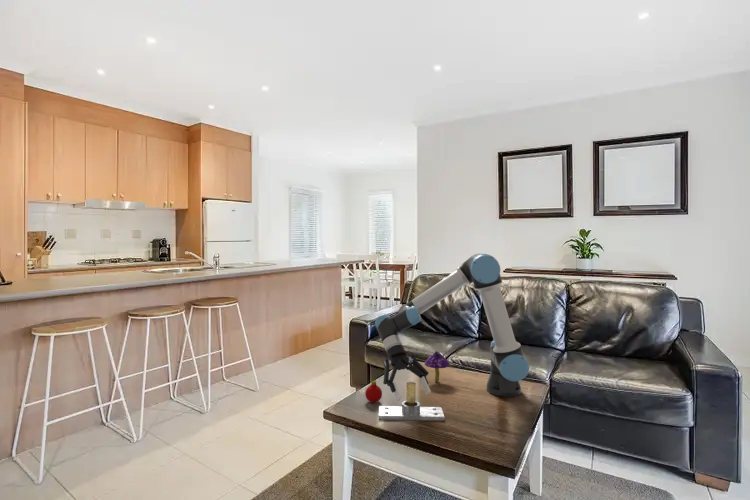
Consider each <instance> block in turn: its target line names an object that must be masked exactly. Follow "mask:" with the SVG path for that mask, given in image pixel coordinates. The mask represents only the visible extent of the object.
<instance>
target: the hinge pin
mask: <svg viewBox="0 0 750 500" xmlns="http://www.w3.org/2000/svg"><path fill="white" fill-rule="evenodd" d="M416 386H417V385H416V382H415V381H407V382H406V389H405V390H406V391H405V392H406V397H405V398H406V400H405V401H406V406H416V401H417V400H416V392H417V390H416V389H417V387H416Z"/></svg>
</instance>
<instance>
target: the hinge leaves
mask: <svg viewBox="0 0 750 500" xmlns="http://www.w3.org/2000/svg"><path fill="white" fill-rule="evenodd" d="M380 419H382V420H387V421H389V420H390V421H392V420H393V421H396V420H397V421H443V422H444V421H445V415H444V411H443V408H442V407H441V406H421V403H420V402H419V401H418V400H416V406H406V400H404V401H402V402H401V406H398V405H396V406H395V405H392V406H391V405H379V406H378V420H380Z"/></svg>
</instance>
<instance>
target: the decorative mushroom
mask: <svg viewBox="0 0 750 500" xmlns="http://www.w3.org/2000/svg"><path fill="white" fill-rule="evenodd" d="M423 363H424V365H425V366H426V367H428V368H430V369H432V368H433V369H434V371H435V375H434V376H435V377H434V382H436V383H437V382H440V370H439V369H446V368H448V367H450V366H451V363H450V362H449V361H448V359H447V358H446V357H445V356H444V355H443V354H441V352H440V351H438V350H436V351H434V352H433V353H432V354H431V355H429V357H428V358H427V359H426V360H424V361H423Z"/></svg>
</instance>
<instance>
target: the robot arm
mask: <svg viewBox="0 0 750 500" xmlns="http://www.w3.org/2000/svg"><path fill="white" fill-rule="evenodd" d="M471 284H473V287H474V289H475V290H476V291H478V292H479V295H480V298H481V301H482V304H483V309H484V313H485V315H486V317H487V322H488V325H489V330H490V332H491V336H492V338H493V339H492V341H491V342H490V348H489V349H490V374H489V376H488V379H487V382H486V386H485V387H486V391H487V392H488V393H490V394H492V395H495V396H498V397H504V398H510V397H511V398H512V397H513V398H515V397H517V396H520V395H521V394H522V387H521V383H520V381H522V380H523V379H525V378H526V377H527V376H528V374H529V372H530V364H529V362H528V360H527V358H526V357H525V355H524V351H523V349H522V345H521V343H520V342H518V341H517V340H516V337H515V334H514V331H513V327H512V324H511V320H510V316H509V314H508V311H507V307H506V303H505V300H504V296H503V293H502V290H501V286H502V284H503V279H502V276H501V266H500V263H499V261H498V260H497V259H496V258H495V257H494V256H492V255H490V254H487V253H476V254H473V255H470V257H469V258H467V260H465V261H464V262H463V263H461V264H460V265H459V266H457V267H456V270H454V271H453V272H452V273H450V274H448V275H447V276H446V277H445V278H443V279H442V280H440V281H438V282H437V283H436V284H434V285H433V286H431V287H430V288H428V289H426V290H425V291H424V292H422V293H420V294H419V295H418V296H416V297H414V298H413V299H411V300H410V301H409V302H407V303H405V304H402V305H401V306H400V307H399V310H398V312H397V313H396V314H394V315H393V316H390V314H387V313H385V314H381V315H379V316H377V318H375V321H374V324H375V327H376V331H377V333H378V335H379V338H380V339H381V342H382V344H383V345H382V346H383V347H384V350H385V352H386V355H387V357H388V359H385V360H384V362H383V367H384V369H383V370H384V372H383V373H384V374H383V383H382V384H383V385H386V386H387V387H389V390H390V391H391V392H392V393H393V395H394V397H395V400H396V402H399V401H400V400H401V399H402V395H401V392H400V391H399V387H398V385H397V383H396V381H395V377H396V374H397V371H402V370H407V371H410V372H411V373H413V374H414V375H416V376H417V377H418V378H419V381H420V383H421V385H422V388H423V391H424V393H425V395H426V396H428V395H429V394H431V389H430V386H429V381H428V379H427V376H428V375H429V371H428V370H427V369H426V368H424V366H423V365H422V364H421V363H420V362H419V361H418V360H417V359H416V357H415V356H414V355H413V354H412V355H411V356H409V357H408V356H407V352H406V350H405V347H404V346H403V342H402V340H401V338H400V336H399V333H402V332H403V331H405V330H406V329H409V328H410V327H413V326H416V325H417V324H418V323H420V322H422V317H421V314H423V313H424V312H426V311H428V310H429V309H431V308H432V307H434V306H435V305H437V304H438V303H439V302H441V301H442V300H444V299H446V298H448V297H449V296H451V294H453V293H455V292H456V291H458V290H459V289H461V288H462V287H464V286H466V285H471ZM390 366H392V370H391V374H390Z"/></svg>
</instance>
